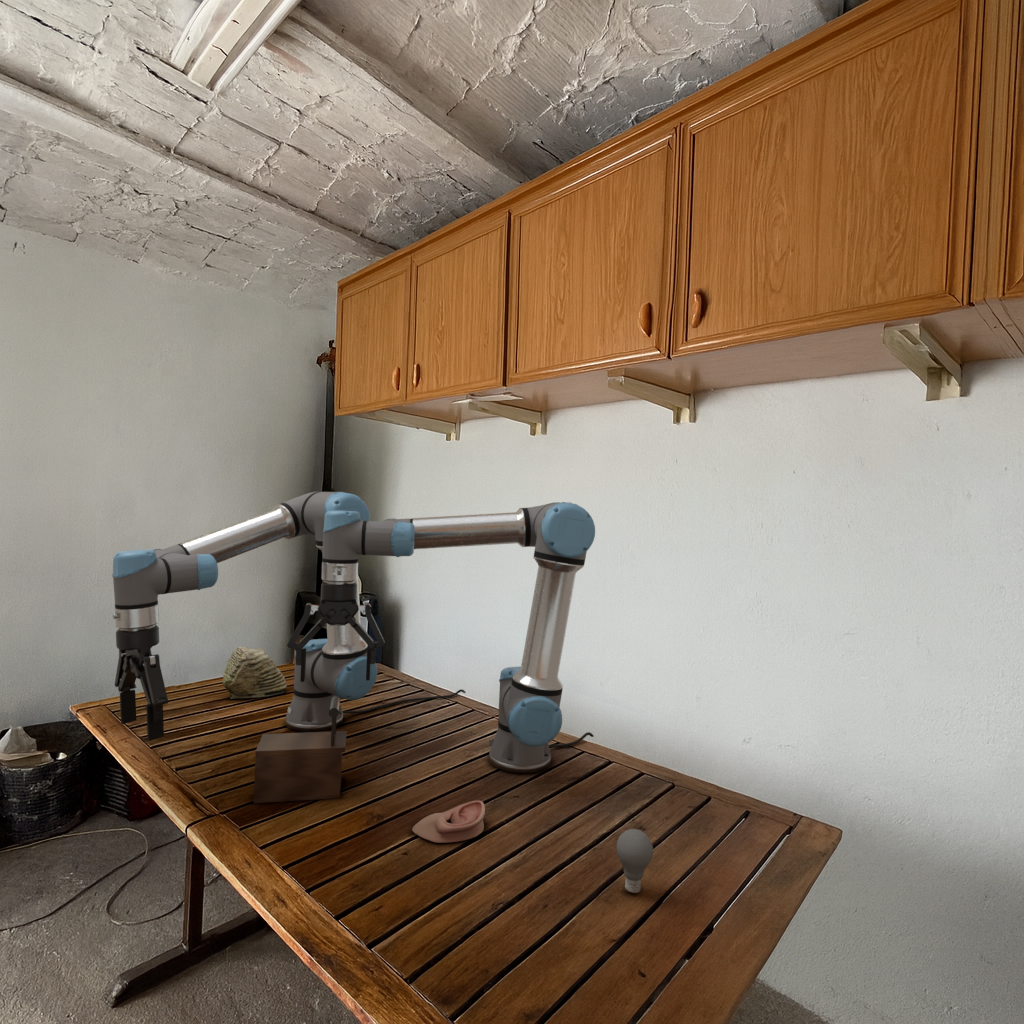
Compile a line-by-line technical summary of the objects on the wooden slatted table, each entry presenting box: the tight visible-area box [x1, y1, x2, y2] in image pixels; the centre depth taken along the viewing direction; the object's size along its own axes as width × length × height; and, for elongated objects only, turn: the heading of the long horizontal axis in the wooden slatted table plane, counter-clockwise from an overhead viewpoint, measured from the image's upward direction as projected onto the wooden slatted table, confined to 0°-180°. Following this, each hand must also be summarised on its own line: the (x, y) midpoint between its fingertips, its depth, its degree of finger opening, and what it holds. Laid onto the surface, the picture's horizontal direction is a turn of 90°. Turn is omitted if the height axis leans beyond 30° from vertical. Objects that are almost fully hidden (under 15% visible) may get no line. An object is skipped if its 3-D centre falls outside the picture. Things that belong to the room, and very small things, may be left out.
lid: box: [255, 696, 347, 757], centre depth 136 cm, size 18×9×9 cm, turn 103°
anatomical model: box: [411, 800, 486, 844], centre depth 123 cm, size 13×4×12 cm
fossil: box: [222, 646, 288, 699], centre depth 198 cm, size 9×18×15 cm, turn 132°
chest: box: [253, 753, 343, 804], centre depth 136 cm, size 17×9×10 cm, turn 103°
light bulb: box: [615, 828, 654, 894], centre depth 106 cm, size 6×6×10 cm
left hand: (141, 730), depth 129 cm, fingers open, 13 cm apart
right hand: (335, 679), depth 137 cm, fingers open, 13 cm apart
